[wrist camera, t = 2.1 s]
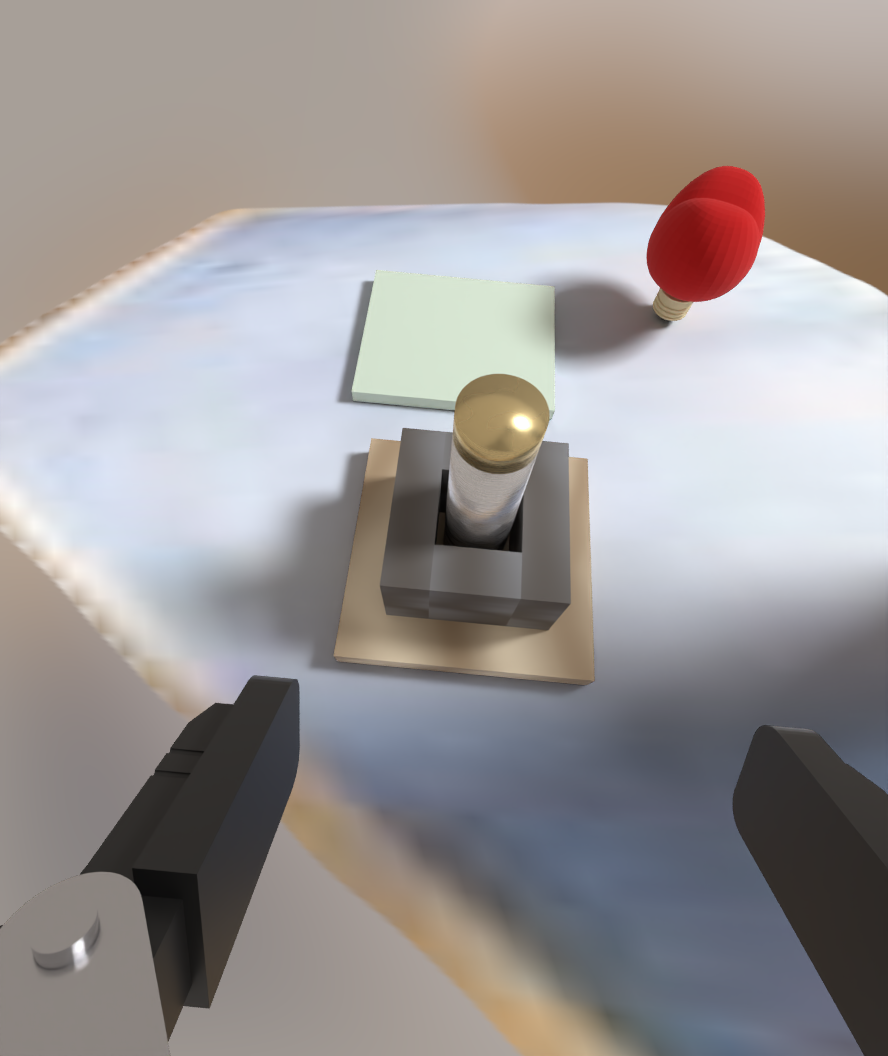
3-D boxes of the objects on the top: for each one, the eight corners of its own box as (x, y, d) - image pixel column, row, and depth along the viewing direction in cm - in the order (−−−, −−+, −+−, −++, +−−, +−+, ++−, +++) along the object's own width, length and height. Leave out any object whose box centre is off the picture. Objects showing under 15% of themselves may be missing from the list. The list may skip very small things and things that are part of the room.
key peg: (503, 524, 32) (549, 378, 20) (500, 578, 31) (549, 455, 19) (445, 518, 32) (458, 369, 20) (440, 573, 31) (451, 445, 19)
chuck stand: (581, 470, 36) (612, 410, 30) (586, 685, 30) (627, 662, 24) (373, 451, 36) (363, 387, 30) (337, 661, 30) (316, 632, 24)
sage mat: (551, 296, 43) (554, 286, 42) (551, 419, 37) (554, 410, 37) (377, 280, 43) (376, 269, 42) (353, 400, 37) (351, 391, 37)
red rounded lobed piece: (695, 373, 40) (775, 254, 31) (605, 341, 41) (657, 217, 32) (721, 293, 43) (799, 165, 34) (638, 265, 44) (693, 135, 35)
